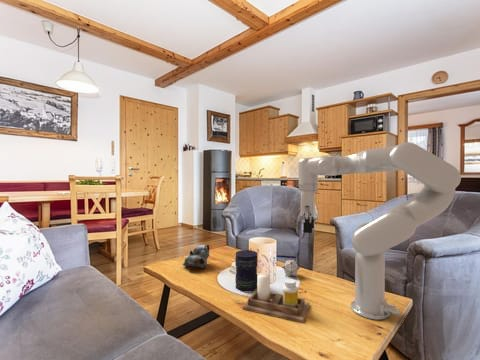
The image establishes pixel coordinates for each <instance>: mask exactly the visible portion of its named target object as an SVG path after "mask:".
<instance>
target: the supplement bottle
mask: <svg viewBox="0 0 480 360" xmlns="http://www.w3.org/2000/svg"><path fill="white" fill-rule="evenodd" d="M298 293H299V292H298V287H297V281H296V279H292V278H285V279H284V285H283V287H282V295H283V306H287V307H292V308H297V307H298V298H299V296H298V295H299V294H298Z"/></svg>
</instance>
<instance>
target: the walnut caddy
mask: <svg viewBox="0 0 480 360" xmlns="http://www.w3.org/2000/svg"><path fill="white" fill-rule="evenodd" d="M241 308H242V310H244V311H250V312H253V313H257V314H258V313H259V314H263V315H266V316H271V317H275V318H279V319H280V318H281V319H285V320H289V321H292V322H297V323H301V324H303V323H304V321H305V319H306V316H307V313H308V310H309V308H310V302H309V301H305V298H302V297H298V307H297V308H292V307H287V306H283V293H282V294H281V293H277V292H276V293H275V292H271V291H270V303H268V302H263V301H258V300H257V289H256V290H254V291H253V293H252V295H251V296H250V297H248V299H247V300H246V302H245V303H244V304H243V305H242V307H241Z"/></svg>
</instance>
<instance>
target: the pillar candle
mask: <svg viewBox="0 0 480 360" xmlns="http://www.w3.org/2000/svg"><path fill="white" fill-rule="evenodd" d="M256 290H257V300H258V301H263V302H268V303H270V292H271V275H270V274H269V273H265V272H264V273H262V272H261V273H257V289H256Z"/></svg>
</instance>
